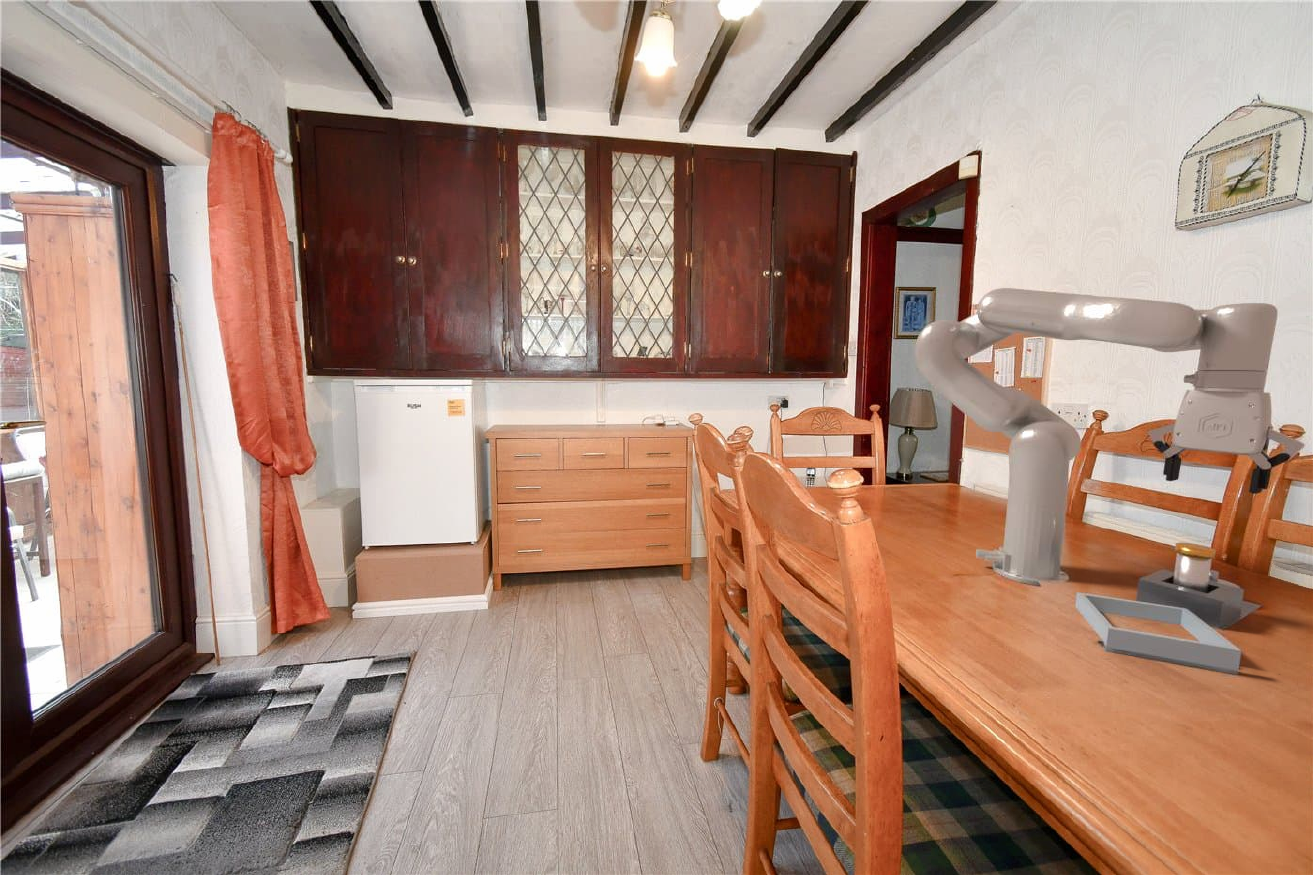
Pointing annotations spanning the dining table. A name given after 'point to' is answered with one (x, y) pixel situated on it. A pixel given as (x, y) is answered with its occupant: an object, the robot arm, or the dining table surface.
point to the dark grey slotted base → (1198, 598)
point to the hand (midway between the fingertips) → (1211, 486)
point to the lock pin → (1193, 566)
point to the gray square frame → (1200, 654)
